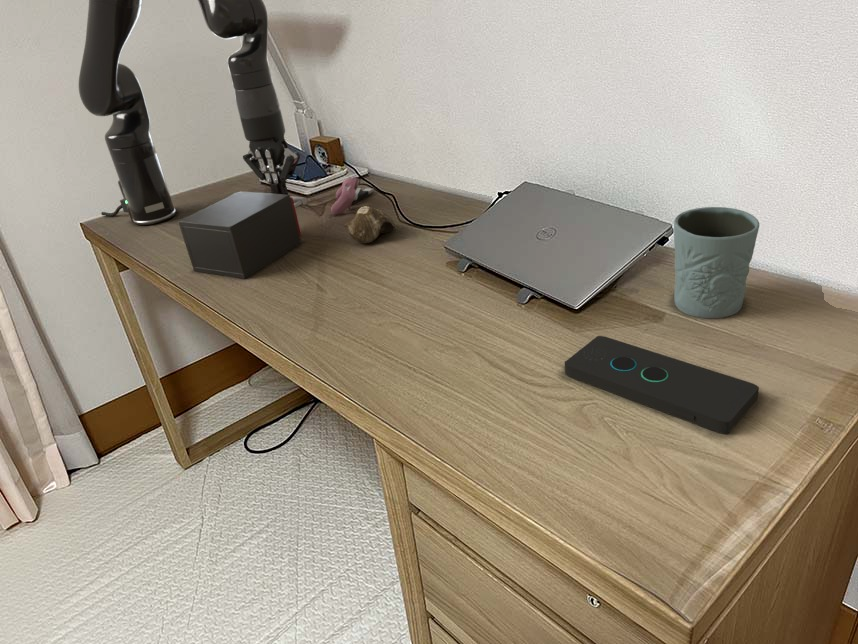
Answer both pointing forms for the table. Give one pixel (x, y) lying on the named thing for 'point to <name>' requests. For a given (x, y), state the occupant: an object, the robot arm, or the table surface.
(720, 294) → the grey-green embossed cup
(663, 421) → the table surface
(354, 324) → the table surface
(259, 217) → the dark grey box
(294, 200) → the drawer
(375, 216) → the fossilized seashell
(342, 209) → the pink irregular lump
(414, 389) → the table surface
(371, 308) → the table surface
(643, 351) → the smart home device
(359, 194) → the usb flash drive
